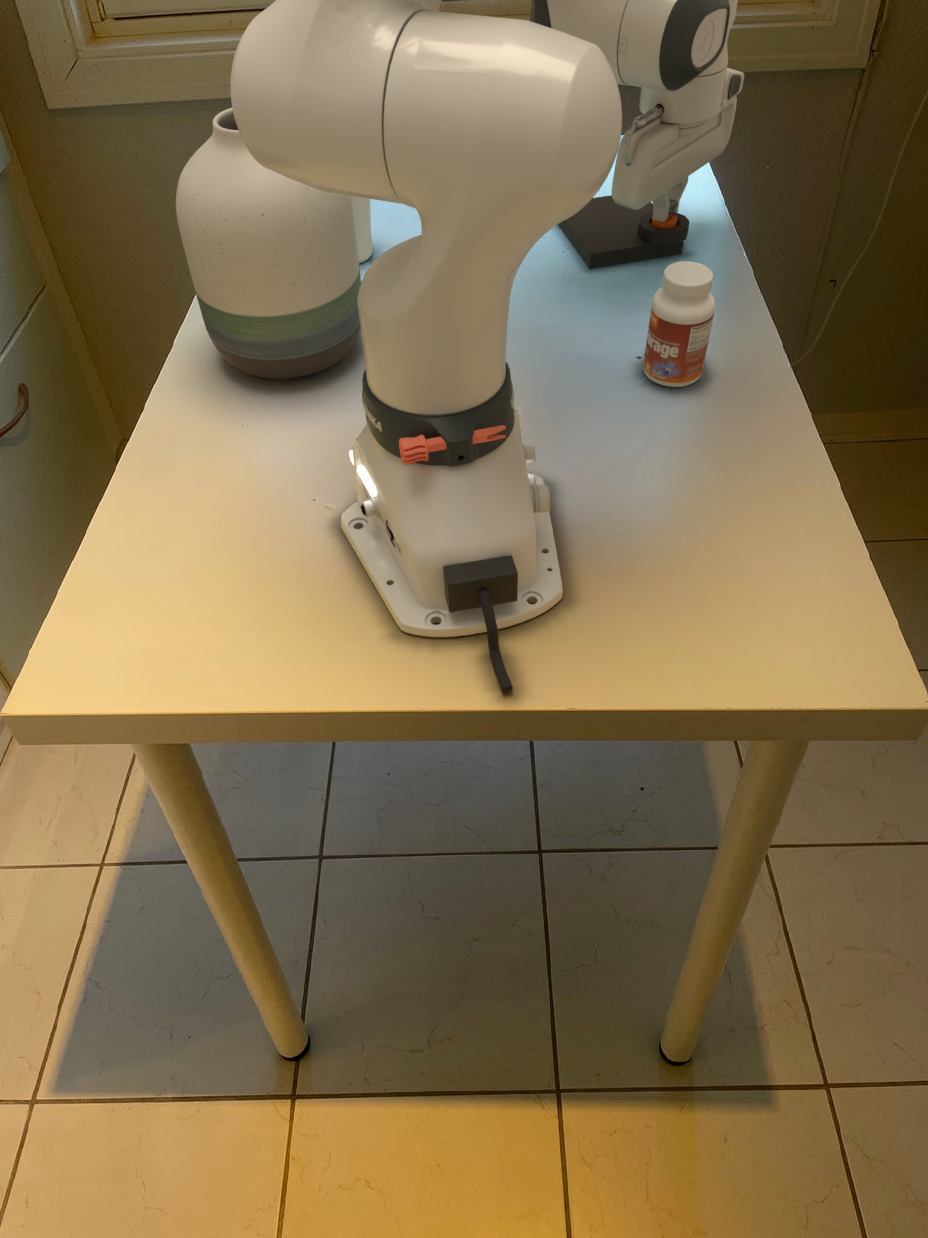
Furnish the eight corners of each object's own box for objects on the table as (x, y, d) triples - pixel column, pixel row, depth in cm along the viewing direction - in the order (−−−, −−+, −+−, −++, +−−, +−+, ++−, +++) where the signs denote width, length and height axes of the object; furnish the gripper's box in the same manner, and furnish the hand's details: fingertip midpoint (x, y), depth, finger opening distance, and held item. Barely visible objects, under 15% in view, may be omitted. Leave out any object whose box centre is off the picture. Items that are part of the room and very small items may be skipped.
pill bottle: (630, 368, 98) (642, 269, 90) (674, 349, 100) (690, 250, 92) (669, 396, 94) (686, 296, 86) (714, 376, 97) (734, 276, 88)
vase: (399, 352, 101) (378, 117, 83) (267, 415, 94) (213, 174, 76) (312, 293, 110) (276, 69, 92) (185, 347, 103) (119, 116, 85)
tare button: (679, 235, 112) (681, 221, 111) (656, 239, 112) (657, 224, 111) (669, 224, 114) (671, 210, 113) (646, 228, 114) (648, 213, 113)
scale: (692, 256, 113) (697, 228, 111) (591, 272, 111) (594, 244, 109) (646, 203, 123) (649, 176, 120) (553, 217, 121) (554, 190, 118)
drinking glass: (353, 274, 113) (337, 146, 101) (313, 259, 116) (293, 132, 104) (389, 252, 116) (378, 125, 105) (349, 237, 119) (334, 112, 108)
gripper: (654, 130, 95) (639, 258, 105) (752, 70, 105) (730, 193, 115) (603, 116, 98) (593, 242, 108) (703, 59, 108) (685, 180, 118)
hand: (664, 216), depth 112 cm, fingers closed, pressing on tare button
